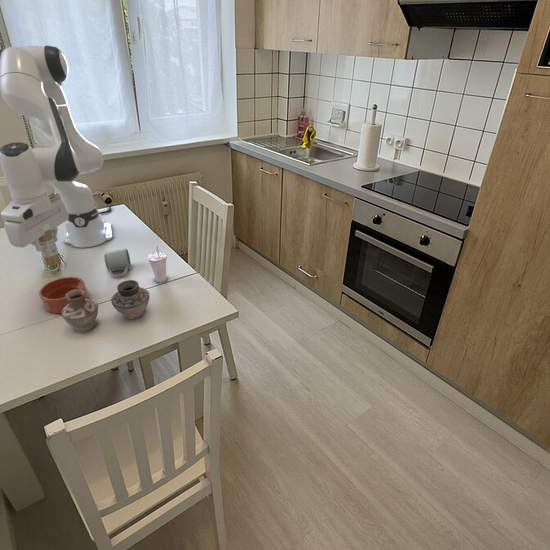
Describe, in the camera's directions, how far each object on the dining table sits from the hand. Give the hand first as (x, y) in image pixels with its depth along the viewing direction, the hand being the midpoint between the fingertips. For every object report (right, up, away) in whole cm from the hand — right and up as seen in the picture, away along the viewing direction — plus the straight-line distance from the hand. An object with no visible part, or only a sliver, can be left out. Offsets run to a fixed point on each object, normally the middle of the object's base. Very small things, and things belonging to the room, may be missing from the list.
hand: (47, 246), depth 119 cm
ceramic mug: (+11, -7, +27) cm, 31 cm away
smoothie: (+28, -11, +23) cm, 37 cm away
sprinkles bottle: (0, -5, +3) cm, 6 cm away
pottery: (+18, -23, +3) cm, 29 cm away
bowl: (0, -18, +11) cm, 21 cm away
